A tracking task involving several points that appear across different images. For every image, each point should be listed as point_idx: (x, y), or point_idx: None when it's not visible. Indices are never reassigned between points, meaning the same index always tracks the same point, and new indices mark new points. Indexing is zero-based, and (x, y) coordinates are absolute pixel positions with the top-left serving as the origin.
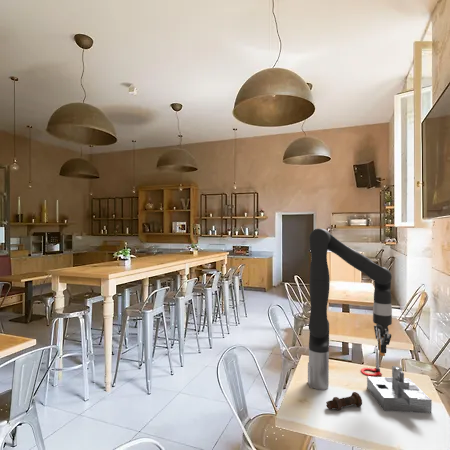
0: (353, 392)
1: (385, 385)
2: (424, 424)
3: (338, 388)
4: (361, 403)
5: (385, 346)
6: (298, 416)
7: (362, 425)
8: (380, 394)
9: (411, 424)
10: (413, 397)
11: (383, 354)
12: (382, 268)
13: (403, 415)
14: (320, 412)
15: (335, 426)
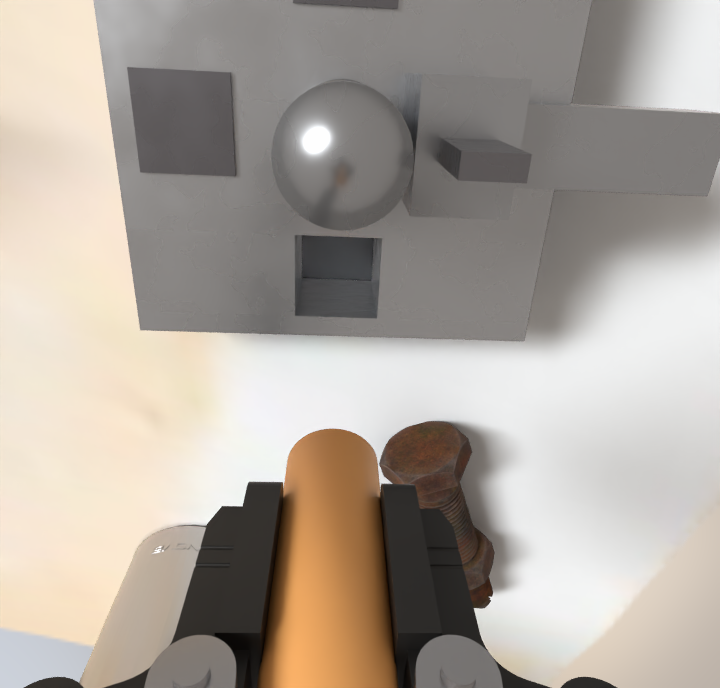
0: None
1: (312, 235)
2: (692, 83)
3: (216, 477)
4: (465, 438)
5: (476, 635)
6: None
7: (622, 467)
8: (456, 334)
9: None
10: (716, 156)
11: (377, 483)
12: None
13: None
14: (488, 606)
15: (607, 574)
